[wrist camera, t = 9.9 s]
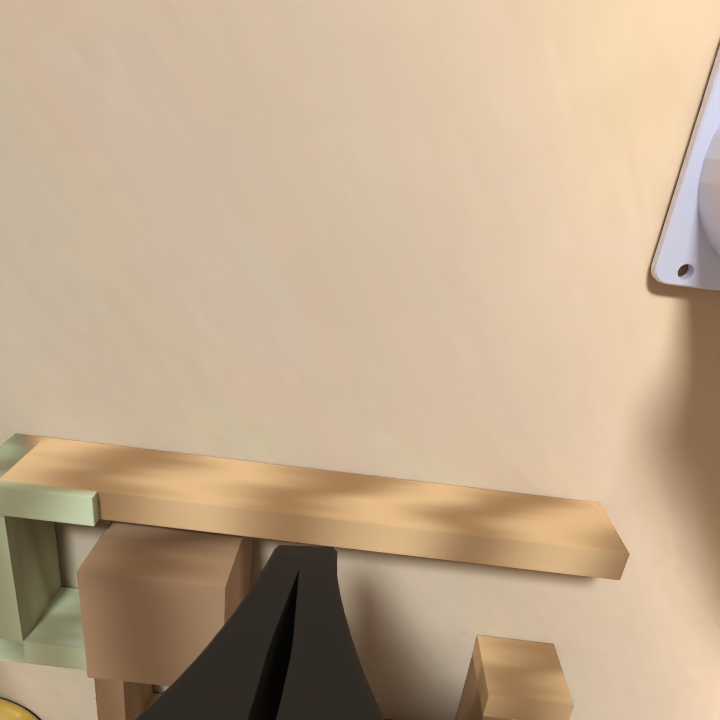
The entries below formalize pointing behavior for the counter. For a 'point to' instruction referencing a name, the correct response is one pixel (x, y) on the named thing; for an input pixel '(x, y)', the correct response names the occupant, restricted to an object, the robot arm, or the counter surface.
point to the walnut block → (158, 598)
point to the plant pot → (14, 712)
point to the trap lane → (287, 523)
